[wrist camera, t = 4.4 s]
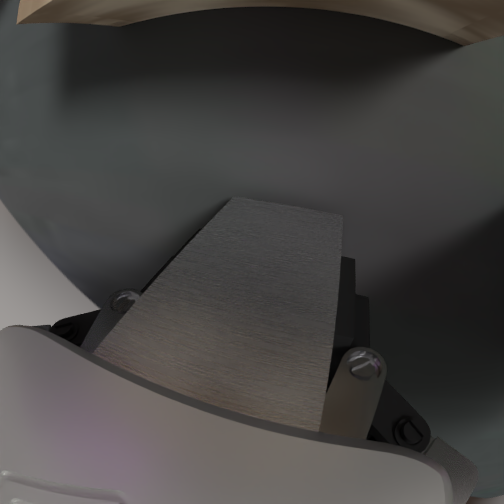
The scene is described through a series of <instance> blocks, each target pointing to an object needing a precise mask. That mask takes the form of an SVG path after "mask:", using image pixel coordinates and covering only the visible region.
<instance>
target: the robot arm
mask: <svg viewBox="0 0 504 504" xmlns="http://www.w3.org/2000/svg"><path fill="white" fill-rule="evenodd" d="M201 230H202V229H199V230H198V231H197V232H196V233H195V234H194V235H193V236H192V237H191V238H190V239H189V240H188V241H187V243H186V244H185V245H184V246H183V247H182V248H181V249H180V250H179V251H178V252H177V253H176V254H175V255H174V256H173V257H171V258H170V260H169V261H168V262H167V263H166V264H165V265H164V266H163V267H162V268H161V269H160V270H159V271H158V273H157V274H156V275H155V276H154V277H153V278H152V279H151V280H150V281H149V282H148V284H147V285H146V286H145V287H144V288H143V289H142V290H141V291H138V290H135V289H123V290H119V291H117V292H115V293H113V294H112V295H111V296H110V297H109V298H108V299H107V301H106V302H105V304H104V306H103V308H102V309H100V310H96V311H93V312H89V313H84V314H80V315H76V316H72V317H68V318H64V319H62V320H59V321H58V322H56V323H55V324H54V325H53V326H52V327H51V325H41V326H23V325H13V326H8V327H6V328H4V329H2V330H1V331H0V504H465V503H466V502H467V500H468V498H469V497H470V495H471V493H472V491H473V490H474V488H475V486H476V484H477V481H478V470H477V467H476V466H475V465H474V463H473V462H471V461H470V460H469V459H467V458H466V457H464V456H463V455H462V454H460V453H459V452H458V451H456V450H455V449H454V448H452V447H451V446H450V445H448V444H447V443H446V442H444V441H443V440H442V439H440V438H439V437H437V438H433V437H432V436H431V433H430V429H429V426H428V424H427V423H426V421H425V420H424V419H423V418H422V417H421V416H420V415H419V414H418V413H417V412H416V411H415V410H414V409H413V408H412V407H411V406H410V405H409V404H408V402H407V401H406V400H405V399H404V398H403V397H402V396H401V395H400V394H399V393H398V392H397V391H396V390H395V389H394V388H393V387H392V386H391V385H390V384H389V383H388V382H387V381H386V380H385V378H386V374H387V365H386V362H385V360H384V359H383V357H382V356H381V355H380V354H379V353H378V352H376V351H374V350H372V349H370V328H369V298H368V297H366V296H361V295H356V294H355V259H352V258H347V257H342V256H341V265H340V279H339V292H338V303H337V313H336V322H335V331H334V340H333V348H332V355H331V362H330V369H329V376H328V382H327V388H326V394H325V400H324V406H323V411H322V417H321V422H320V427H319V432H316V431H311V430H306V429H301V428H296V427H291V426H287V425H282V424H278V423H274V422H270V421H266V420H262V419H258V418H255V417H251V416H247V415H244V414H240V413H237V412H234V411H230V410H227V409H224V408H221V407H217V406H214V405H211V404H208V403H205V402H202V401H200V400H197V399H194V398H191V397H188V396H186V395H183V394H180V393H178V392H175V391H173V390H170V389H167V388H165V387H162V386H160V385H158V384H155V383H153V382H150V381H148V380H146V379H144V378H141V377H139V376H137V375H134V374H132V373H130V372H128V371H126V370H124V369H121V368H119V367H117V366H115V365H113V364H111V363H109V362H107V361H105V360H103V359H101V358H99V357H97V356H95V355H93V354H92V353H93V352H94V351H95V350H96V348H97V347H98V346H99V345H100V344H101V342H102V341H103V340H104V339H105V337H106V336H107V335H108V334H109V333H110V331H111V330H112V329H113V328H114V327H115V326H116V324H117V323H118V322H119V321H120V320H121V318H122V317H123V316H124V315H125V314H126V313H127V311H128V310H129V309H130V308H131V307H132V306H133V304H134V303H135V302H136V301H137V300H138V299H139V298H140V296H141V295H142V294H143V293H144V292H145V291H146V290H147V289H148V287H149V286H150V285H151V284H152V283H153V282H154V281H155V280H156V278H157V277H158V276H159V275H160V274H161V273H162V272H163V271H164V270H165V268H166V267H167V266H168V265H169V264H170V263H171V262H172V261H173V260H174V259H175V258H176V256H177V255H178V254H179V253H180V252H181V251H182V250H183V249H184V248H185V247H186V246H187V245H188V244H189V242H190V241H191V240H192V239H193V238H194V237H195V236H196V235H197V234H198V233H199V232H200V231H201Z"/></svg>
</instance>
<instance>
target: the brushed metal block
mask: <svg viewBox="0 0 504 504" xmlns="http://www.w3.org/2000/svg"><path fill="white" fill-rule="evenodd" d="M342 225H343V216H342V215H337V214H332V213H327V212H322V211H317V210H312V209H307V208H301V207H296V206H290V205H285V204H279V203H273V202H267V201H261V200H255V199H249V198H243V197H237V196H234V197H233V198H232V199H231V200H230V201H229V202H228V203H227V204H226V205H225V206H224V207H223V208H222V209H221V210H220V211H219V212H218V213H217V214H216V215H215V216H214V217H213V218H212V219H211V220H210V221H209V222H208V223H207V225H206V226H205V227H204V228H203V229H202V230H201V231H200V232H199V233H198V234H197V235H196V236H195V237H194V238H193V239H192V240H191V241H190V242H189V244H188V245H187V246H186V247H185V248H184V249H183V250H182V251H181V252H180V253H179V254H178V255H177V256H176V258H175V259H174V260H173V261H172V262H171V263H170V264H169V265H168V266H167V267H166V268H165V270H164V271H163V272H162V273H161V274H160V275H159V276H158V277H157V278H156V280H155V281H154V282H153V283H152V284H151V285H150V286H149V287H148V289H147V290H146V291H145V292H144V293H143V294H142V295H141V296H140V298H139V299H138V300H137V301H136V302H135V303H134V304H133V306H132V307H131V308H130V309H129V310H128V311H127V313H126V314H125V315H124V316H123V317H122V318H121V320H120V321H119V322H118V323H117V324H116V326H115V327H114V328H113V329H112V330H111V331H110V333H109V334H108V335H107V336H106V337H105V339H104V340H103V341H102V342H101V344H100V345H99V346H98V347H97V348H96V350H95V351H94V352H93V353H92V354H93V355H95V356H97V357H99V358H101V359H103V360H105V361H107V362H109V363H111V364H113V365H115V366H117V367H119V368H121V369H124V370H126V371H128V372H130V373H132V374H134V375H137V376H139V377H141V378H144V379H146V380H148V381H150V382H153V383H155V384H158V385H160V386H162V387H165V388H167V389H170V390H173V391H175V392H178V393H180V394H183V395H186V396H188V397H191V398H194V399H197V400H200V401H202V402H205V403H208V404H211V405H214V406H217V407H221V408H224V409H227V410H230V411H234V412H237V413H240V414H244V415H247V416H251V417H255V418H258V419H262V420H266V421H270V422H274V423H278V424H282V425H287V426H291V427H296V428H301V429H306V430H311V431H316V432H319V427H320V422H321V417H322V411H323V406H324V400H325V394H326V388H327V382H328V376H329V369H330V362H331V355H332V348H333V340H334V331H335V322H336V313H337V303H338V292H339V279H340V265H341V248H342Z"/></svg>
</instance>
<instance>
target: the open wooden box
mask: <svg viewBox="0 0 504 504" xmlns="http://www.w3.org/2000/svg"><path fill="white" fill-rule="evenodd" d="M258 6H272V7H299V8H312V9H322V10H331V11H338V12H345V13H351V14H357V15H363V16H368V17H373V18H377V19H382V20H386V21H390V22H394V23H398V24H402V25H406V26H409V27H413V28H416V29H419V30H422V31H425V32H428V33H431V34H434V35H437V36H440V37H443V38H445V39H448V40H451V41H453V42H456V43H458V44H461V45H463V46H466V45H470V44H473V43H477V42H480V41H484V40H487V39H491V38H495V37H499V36H503V35H504V0H20V4H19V10H18V17H17V24H27V23H83V24H97V25H108V26H117V27H121V26H124V25H128V24H132V23H135V22H140V21H144V20H148V19H153V18H157V17H162V16H167V15H173V14H179V13H185V12H192V11H200V10H208V9H219V8H232V7H258Z"/></svg>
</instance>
